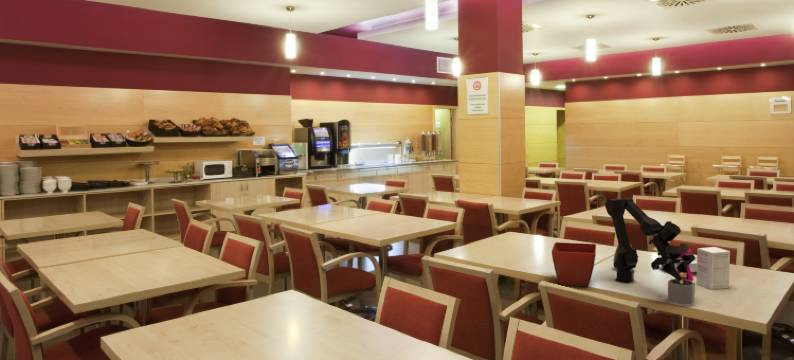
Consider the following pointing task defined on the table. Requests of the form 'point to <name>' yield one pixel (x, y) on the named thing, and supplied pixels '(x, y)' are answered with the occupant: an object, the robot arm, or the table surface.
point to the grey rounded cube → (681, 292)
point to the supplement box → (713, 267)
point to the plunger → (682, 276)
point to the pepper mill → (688, 266)
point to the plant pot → (574, 263)
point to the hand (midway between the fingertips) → (684, 279)
